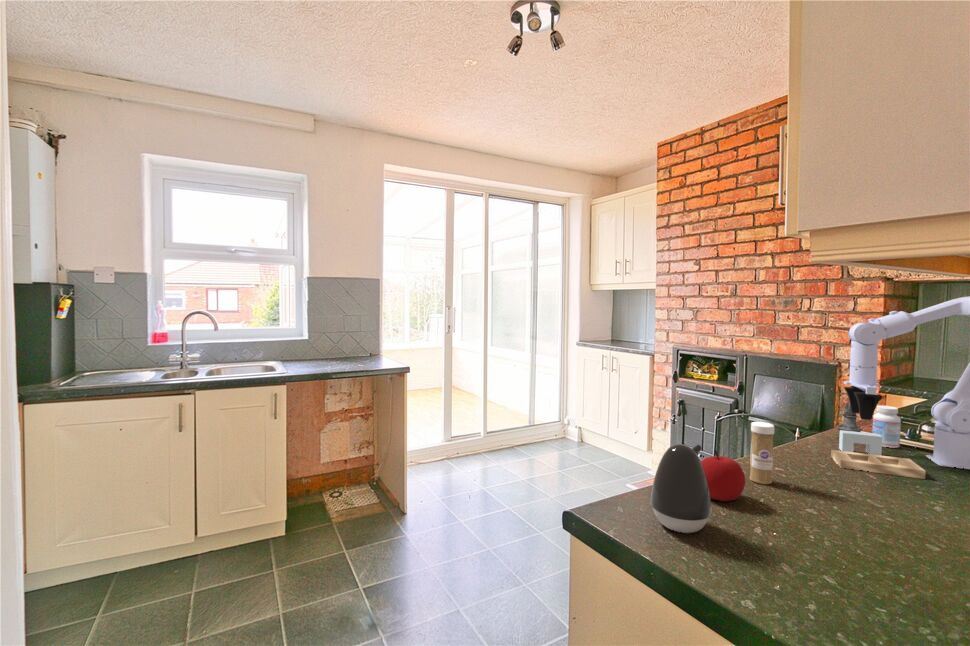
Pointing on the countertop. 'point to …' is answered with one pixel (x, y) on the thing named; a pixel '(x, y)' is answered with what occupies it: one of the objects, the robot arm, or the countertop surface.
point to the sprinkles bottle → (761, 452)
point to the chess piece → (849, 420)
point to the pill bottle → (887, 426)
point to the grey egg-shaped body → (681, 490)
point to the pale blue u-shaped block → (860, 441)
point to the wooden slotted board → (878, 464)
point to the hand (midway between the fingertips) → (861, 416)
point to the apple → (723, 477)
